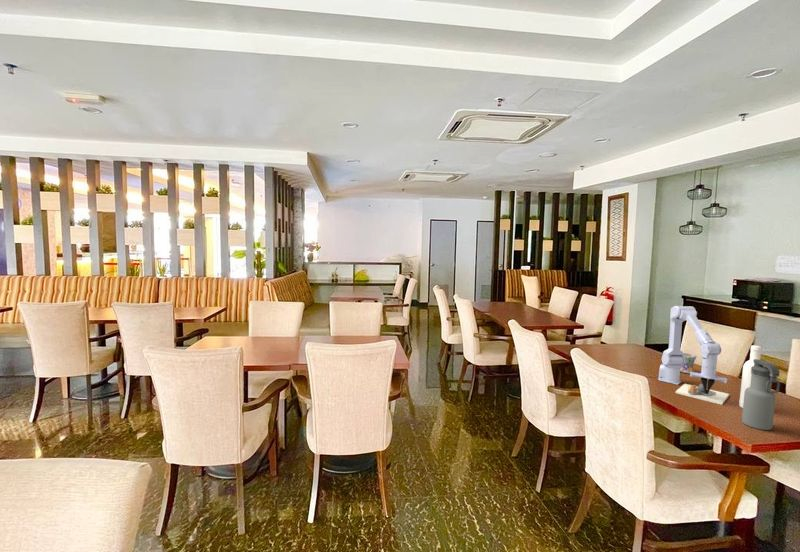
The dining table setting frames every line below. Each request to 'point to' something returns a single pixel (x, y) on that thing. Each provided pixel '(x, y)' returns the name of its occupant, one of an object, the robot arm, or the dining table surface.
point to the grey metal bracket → (695, 391)
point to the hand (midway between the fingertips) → (706, 393)
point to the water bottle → (760, 396)
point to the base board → (714, 398)
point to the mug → (688, 363)
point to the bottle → (748, 371)
